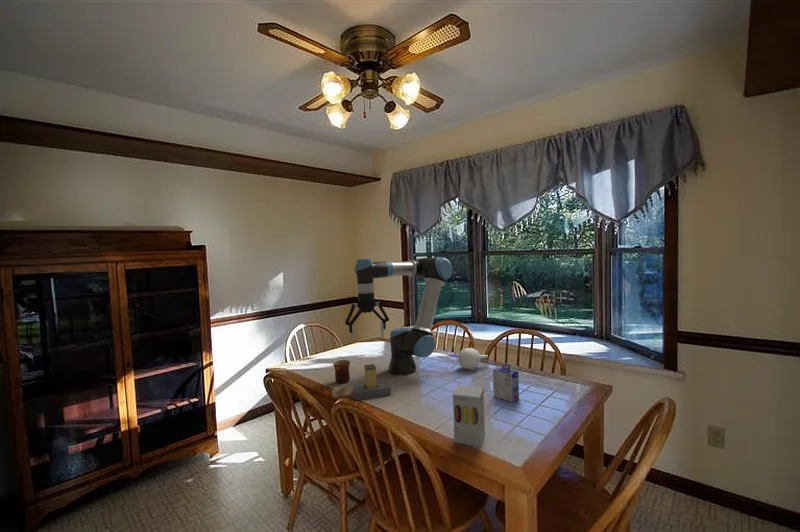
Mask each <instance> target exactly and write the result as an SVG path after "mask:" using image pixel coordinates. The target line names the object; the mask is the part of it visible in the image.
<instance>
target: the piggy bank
mask: <svg viewBox="0 0 800 532" xmlns="http://www.w3.org/2000/svg"><path fill="white" fill-rule="evenodd" d="M488 358H489V355H488V354H480V352H479V350H477V349H476V348H473V347H466V348H464V349H461V350H460V351H459V353H458V355H457V361H458V364H459V365H460V366H461V367H462V368H463V369H466V370H472V371H473V370H474V371H475V370H476V367H477V366H479V364H480V362H481V359H482V360H483V359H484V360H485V359H488Z"/></svg>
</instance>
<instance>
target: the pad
mask: <svg viewBox="0 0 800 532" xmlns="http://www.w3.org/2000/svg"><path fill="white" fill-rule="evenodd" d="M331 395H332V398H337V397H345V396H351V395H353V390H352V388H351V386H349V387H341V388H336V389H331Z"/></svg>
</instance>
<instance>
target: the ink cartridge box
mask: <svg viewBox="0 0 800 532" xmlns="http://www.w3.org/2000/svg"><path fill="white" fill-rule="evenodd" d="M519 381H520V380H519V370H514V369H511V364H509V363H504V362H503V364H502V366H499V367H496V368H494V369H492V386H493V387H492V389H493V390H492V391H493V393H492V395H493V397H495V398H498V399H501V400H504V401H507V402H511V403H514V402H516V401H519V400H520V388H519V387H520V386H519V385H520V384H519Z"/></svg>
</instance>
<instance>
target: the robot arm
mask: <svg viewBox="0 0 800 532" xmlns="http://www.w3.org/2000/svg"><path fill="white" fill-rule="evenodd" d="M354 273H355V275H356V287H357V290H356V291H357V303H351V305H350V309H349V313H348V314H347V317H346V319H345V321H344V324H345V325H346V326H348V329H349V330H348V331H349V333H350V334H351V339H352V341H355V325H354V324H355V322H356V320H357V319H358V318H359V317H360V315H361V314H362V313H363V314H366V313H371V312H372V313H373V314H374V315H375V316H376V317H377V318H378V319H379V320H380V321H381V322H380V335H381V338H384V337H385V332H384V331H385V330H386V328H387V327H386V326H387V325H386V323H387V322H390V318H389V316H388V315H387V313H386V311H385V309H384V307H383V305H382V302H381V301H380V300H379V301H377V302H375V292H374V291H375V287H374V286H375V285H374V279H381V278H389V277H394V276H407V277H409V278H419V279H420V278H422V279H423V280H424V282H425V286H424V290H423V293H422V297H421V301H420V304H419V305H420V306H419V309H418V313H417V317H416V321H415V325H414V326H412V327H411V328H410V327H402V328H401V327H400V328H395V329H393V330H391V331H390V332H389V333H390V334H389V336H390V337H389V340H390V355H391V357H390V361H389V363H388V364H389V365H388V373H390V374H393V375H395V376H396V375H399V376H401V375H402V376H404V375H411V374H414V373H415V372H416V371H417V365H416V362H415V359H414V356H415V357H417V358H422V359H423V358H428V357H429V356H430V355H432V354H433V353H434V351H435V349H436V339H435V337H434V336H433V335H434V332H433V331H432V328H433V327H432V326H433V324H434V319H435V314H436V310H437V306H438V302H439V299H440V298H439V297H440V293H441V289H442V286H444V285H445V284H446V280H449V279H450V278H451V277H452V275H453V266H452V264H451V262H450V260H449V259H447V258H446V257H440V256H438V257H422V258H417V259H408V260H406V261H373V259H372V258H358V259H356V263H355V266H354ZM376 306H377V307H378V308H379V310H380V312H381V314H382V315H381V314H380V313H378V311H377V310H376V309H375V307H376ZM357 308H358V310H357V312H356V313H355V314H354V316H353V313H354V311H355V309H357ZM352 316H353V317H352ZM383 317H384V318H383ZM351 318H352V319H351Z"/></svg>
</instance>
